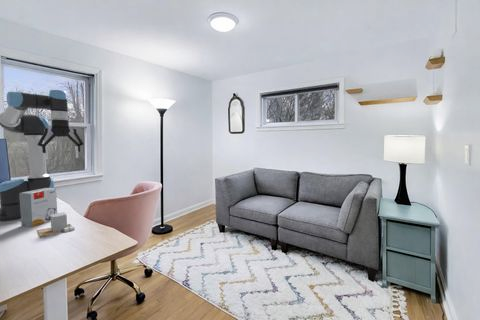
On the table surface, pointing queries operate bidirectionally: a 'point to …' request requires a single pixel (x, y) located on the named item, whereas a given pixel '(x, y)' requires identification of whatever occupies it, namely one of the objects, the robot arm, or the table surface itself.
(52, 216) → the block
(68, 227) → the laminate strip
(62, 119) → the robot arm
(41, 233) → the board
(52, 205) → the hard drive box
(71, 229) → the spacer wedges
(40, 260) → the table surface
